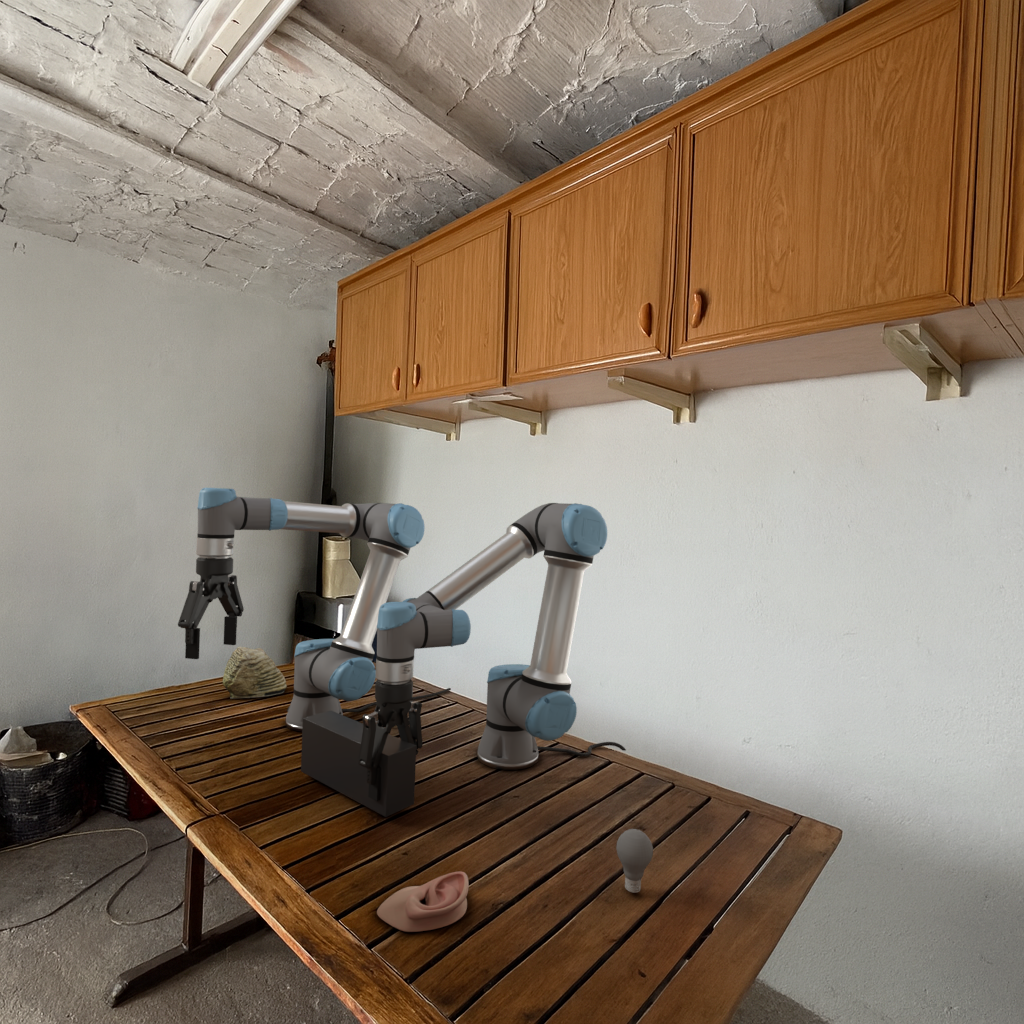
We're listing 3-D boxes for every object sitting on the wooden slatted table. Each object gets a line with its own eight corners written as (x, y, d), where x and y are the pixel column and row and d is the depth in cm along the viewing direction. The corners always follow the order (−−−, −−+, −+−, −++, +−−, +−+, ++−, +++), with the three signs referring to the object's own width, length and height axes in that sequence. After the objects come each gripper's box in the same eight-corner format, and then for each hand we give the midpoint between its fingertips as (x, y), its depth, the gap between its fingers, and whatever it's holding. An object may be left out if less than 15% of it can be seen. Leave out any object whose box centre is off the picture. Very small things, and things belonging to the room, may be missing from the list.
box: (300, 771, 142) (302, 718, 142) (328, 761, 148) (330, 710, 148) (385, 817, 124) (388, 755, 123) (414, 804, 129) (416, 745, 129)
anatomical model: (369, 898, 94) (398, 856, 105) (368, 925, 94) (397, 880, 106) (454, 914, 92) (475, 869, 103) (453, 941, 92) (474, 893, 103)
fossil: (218, 695, 195) (220, 647, 195) (278, 685, 208) (279, 640, 207) (228, 703, 189) (230, 653, 188) (289, 692, 201) (290, 645, 201)
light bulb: (610, 879, 108) (613, 822, 108) (644, 879, 109) (647, 822, 109) (619, 902, 102) (622, 840, 102) (655, 901, 103) (658, 840, 103)
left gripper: (194, 562, 129) (190, 666, 129) (261, 553, 153) (257, 640, 154) (161, 560, 130) (157, 663, 130) (232, 551, 154) (229, 638, 155)
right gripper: (365, 694, 118) (360, 816, 118) (443, 674, 133) (439, 781, 134) (341, 685, 122) (336, 802, 123) (419, 666, 138) (415, 770, 139)
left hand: (211, 651), depth 142 cm, fingers open, 13 cm apart
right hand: (390, 791), depth 128 cm, fingers closed on box, 7 cm apart
